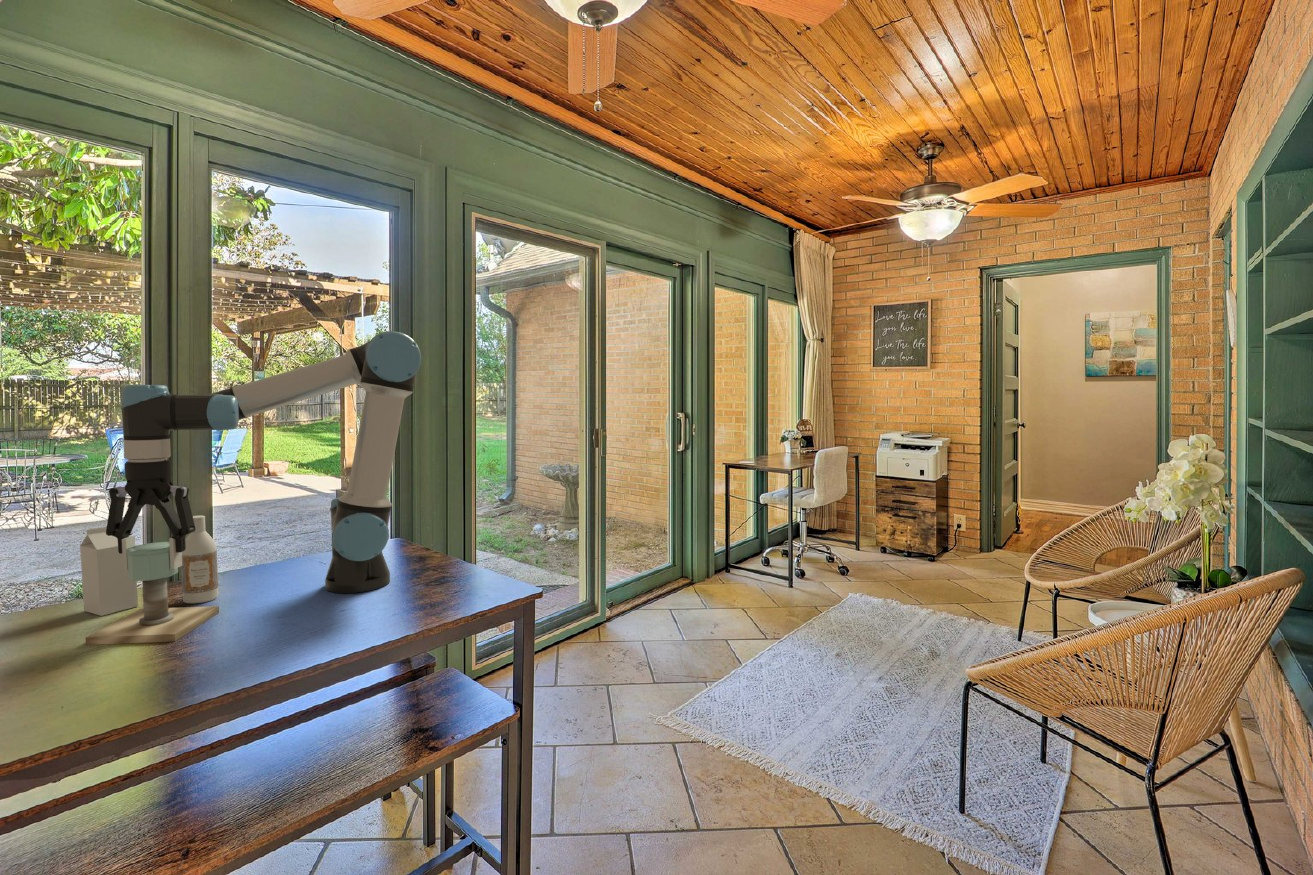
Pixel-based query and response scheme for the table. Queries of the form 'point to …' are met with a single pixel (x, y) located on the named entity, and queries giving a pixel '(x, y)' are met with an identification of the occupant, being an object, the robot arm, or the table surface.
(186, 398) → the robot arm
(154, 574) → the cap
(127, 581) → the milk carton
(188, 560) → the bath foam
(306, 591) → the table surface
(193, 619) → the stud board
